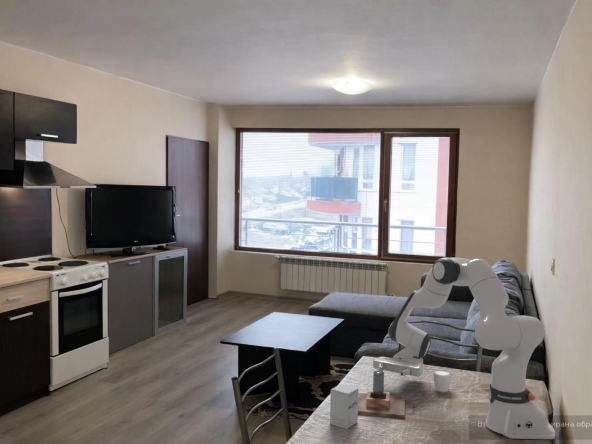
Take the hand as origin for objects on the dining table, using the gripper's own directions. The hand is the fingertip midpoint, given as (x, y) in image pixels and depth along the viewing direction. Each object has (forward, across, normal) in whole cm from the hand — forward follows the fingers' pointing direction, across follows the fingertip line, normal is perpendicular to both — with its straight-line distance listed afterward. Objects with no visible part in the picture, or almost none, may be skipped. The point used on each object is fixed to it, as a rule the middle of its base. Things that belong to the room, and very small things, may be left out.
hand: (390, 371), depth 215 cm
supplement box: (+33, -4, +10) cm, 35 cm away
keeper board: (+12, 0, +10) cm, 16 cm away
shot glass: (-19, +15, +10) cm, 26 cm away
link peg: (+12, 0, +9) cm, 15 cm away
